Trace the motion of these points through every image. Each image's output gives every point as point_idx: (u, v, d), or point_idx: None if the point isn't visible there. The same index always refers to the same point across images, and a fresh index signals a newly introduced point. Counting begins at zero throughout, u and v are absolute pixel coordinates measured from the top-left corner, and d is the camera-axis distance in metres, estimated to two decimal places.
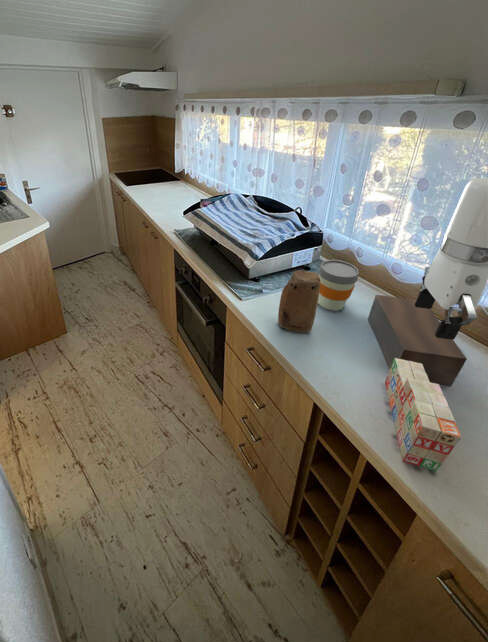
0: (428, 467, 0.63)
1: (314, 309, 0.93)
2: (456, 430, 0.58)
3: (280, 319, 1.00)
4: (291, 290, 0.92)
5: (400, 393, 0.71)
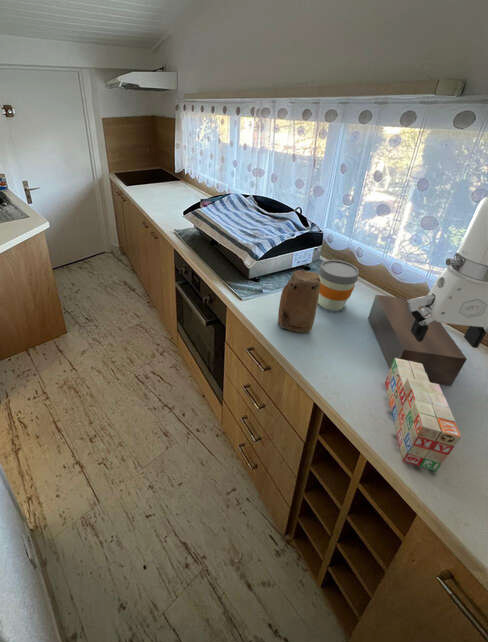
0: (428, 467, 0.63)
1: (314, 309, 0.93)
2: (456, 430, 0.58)
3: (280, 319, 1.00)
4: (291, 290, 0.92)
5: (400, 393, 0.71)
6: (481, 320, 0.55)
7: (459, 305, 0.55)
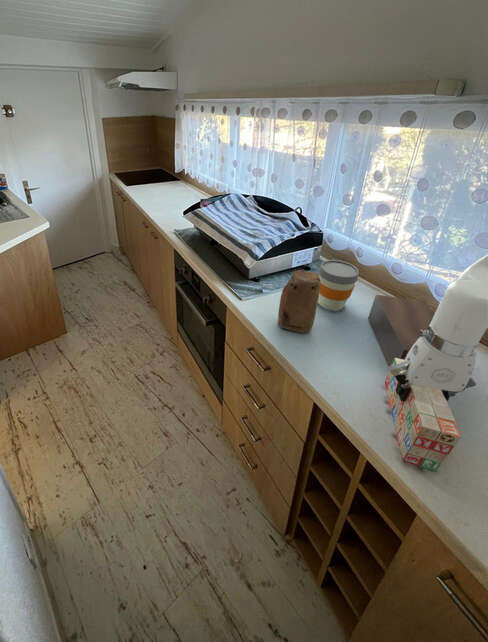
0: (428, 467, 0.63)
1: (314, 309, 0.93)
2: (456, 430, 0.58)
3: (280, 319, 1.00)
4: (291, 290, 0.92)
5: None
6: (451, 386, 0.62)
7: (430, 372, 0.61)
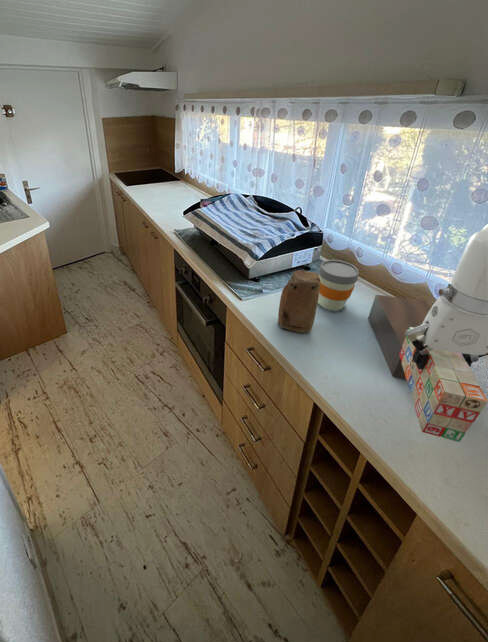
0: (450, 438, 0.58)
1: (314, 309, 0.93)
2: (482, 395, 0.53)
3: (280, 319, 1.00)
4: (291, 290, 0.92)
5: None
6: (474, 349, 0.57)
7: (452, 334, 0.57)
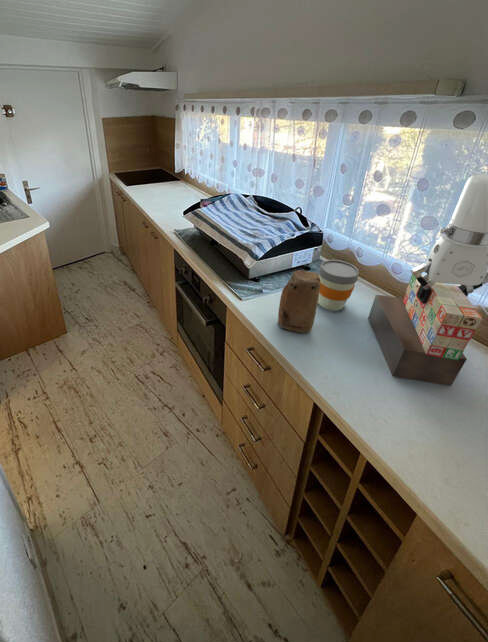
0: (450, 357, 0.68)
1: (314, 309, 0.93)
2: (477, 314, 0.63)
3: (280, 319, 1.00)
4: (291, 290, 0.92)
5: None
6: (470, 279, 0.67)
7: (451, 266, 0.66)
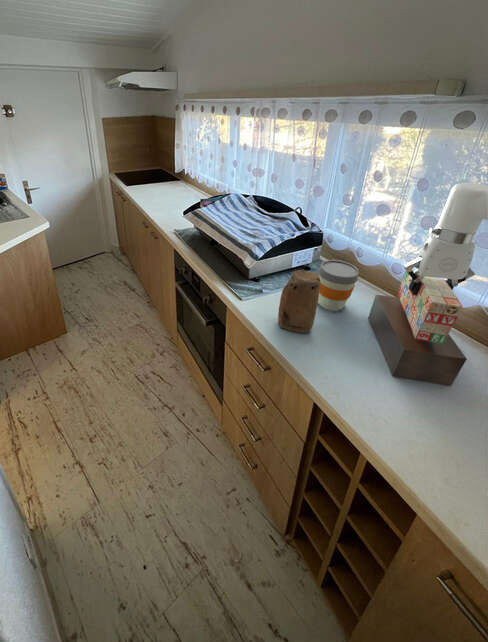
0: (436, 341, 0.78)
1: (314, 309, 0.93)
2: (459, 303, 0.73)
3: (280, 319, 1.00)
4: (291, 290, 0.92)
5: None
6: (454, 274, 0.77)
7: (438, 262, 0.76)
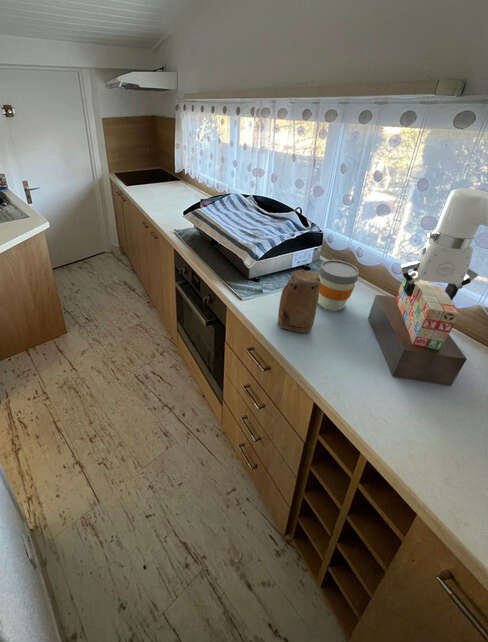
0: (433, 347, 0.79)
1: (314, 309, 0.93)
2: (456, 310, 0.74)
3: (280, 319, 1.00)
4: (291, 290, 0.92)
5: (410, 297, 0.87)
6: (452, 278, 0.77)
7: (436, 267, 0.77)
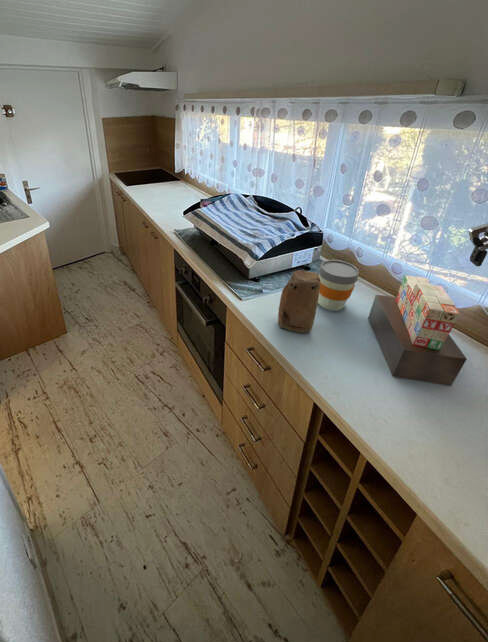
0: (433, 347, 0.79)
1: (314, 309, 0.93)
2: (456, 310, 0.74)
3: (280, 319, 1.00)
4: (291, 290, 0.92)
5: (410, 297, 0.87)
6: None
7: None
